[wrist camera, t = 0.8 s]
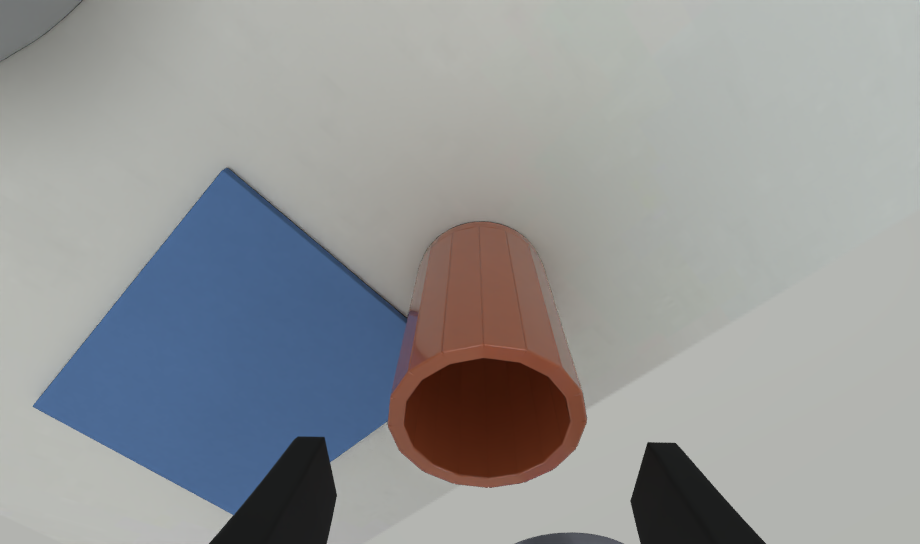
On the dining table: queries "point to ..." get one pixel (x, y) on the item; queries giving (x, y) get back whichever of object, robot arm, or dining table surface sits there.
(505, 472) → the cup
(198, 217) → the towel
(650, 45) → the dining table surface
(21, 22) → the lumpy-topped squat cylinder
